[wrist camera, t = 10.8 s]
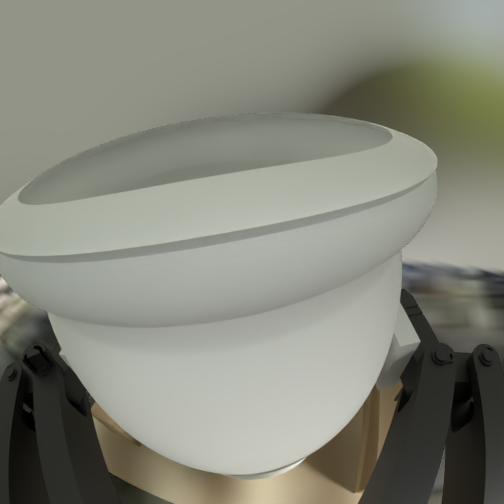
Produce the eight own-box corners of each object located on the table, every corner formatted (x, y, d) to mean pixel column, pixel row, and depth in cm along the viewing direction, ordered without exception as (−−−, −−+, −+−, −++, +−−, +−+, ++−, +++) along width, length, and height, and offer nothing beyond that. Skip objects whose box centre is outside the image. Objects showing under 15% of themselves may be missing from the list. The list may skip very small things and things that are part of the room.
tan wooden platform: (389, 314, 24) (418, 194, 17) (387, 531, 8) (524, 505, 1) (178, 293, 29) (149, 188, 23) (81, 453, 13) (-32, 356, 7)
